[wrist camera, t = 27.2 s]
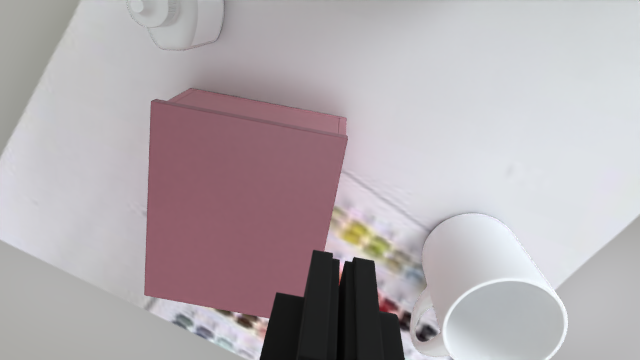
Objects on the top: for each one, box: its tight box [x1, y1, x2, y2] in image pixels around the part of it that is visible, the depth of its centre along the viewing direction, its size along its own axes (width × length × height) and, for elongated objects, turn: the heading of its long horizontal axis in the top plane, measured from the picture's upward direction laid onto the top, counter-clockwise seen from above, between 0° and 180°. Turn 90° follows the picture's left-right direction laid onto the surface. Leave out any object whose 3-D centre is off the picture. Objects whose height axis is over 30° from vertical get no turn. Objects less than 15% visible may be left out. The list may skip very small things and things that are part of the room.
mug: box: [410, 213, 568, 360], centre depth 37 cm, size 9×12×11 cm
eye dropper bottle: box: [127, 0, 224, 50], centre depth 30 cm, size 4×6×12 cm
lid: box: [144, 99, 348, 318], centre depth 33 cm, size 16×13×1 cm
